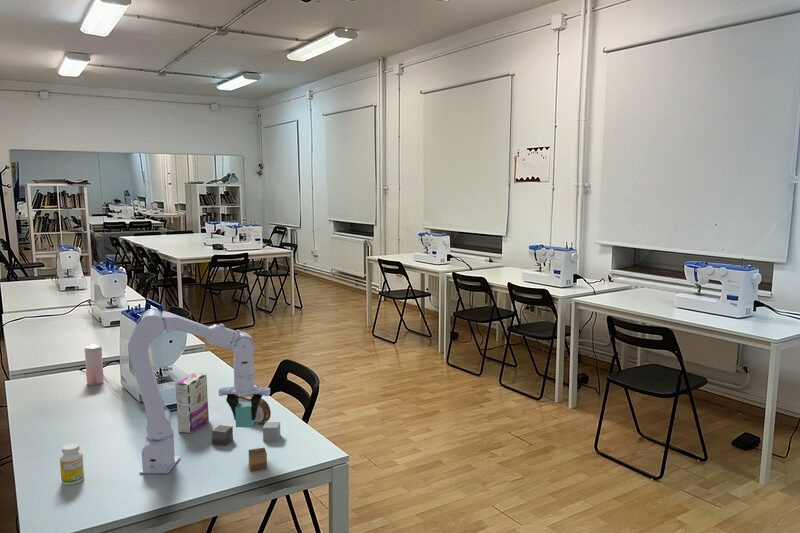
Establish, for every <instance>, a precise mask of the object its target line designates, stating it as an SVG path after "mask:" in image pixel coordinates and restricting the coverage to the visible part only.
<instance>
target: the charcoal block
mask: <svg viewBox="0 0 800 533" xmlns="http://www.w3.org/2000/svg"><path fill="white" fill-rule="evenodd" d="M233 429H234V427H233V426H232V425H224V424H219V425H218V426H216V427H214V428H213V429H212V430H211V444H213V446H221V447H226V446H227V445H229V444H230V443H231V442H233V441H234V430H233Z"/></svg>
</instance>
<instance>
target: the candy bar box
mask: <svg viewBox="0 0 800 533" xmlns="http://www.w3.org/2000/svg"><path fill="white" fill-rule="evenodd" d="M207 379H208V378H207V373H201V372H193V373H191V374H190V375H188V376H186V377H185V378H183V379H181V380H180V381H178V382H176V383H175V397H176V411H177V413H176V414H177V427H178V428H177V430H178V433H182V434H183V433H185V434H192V433H194V432H195V431H196V430H198V429H199V428H200V427H201V426H203V425H204V424H206V423H207V422H208V421H209V420H210V418H209V402H208V401H209V398H208V385H207V384H208V383H207V382H208V381H207Z"/></svg>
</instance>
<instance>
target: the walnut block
mask: <svg viewBox="0 0 800 533" xmlns="http://www.w3.org/2000/svg"><path fill="white" fill-rule="evenodd" d="M248 467H249V471H250V472H251V473H252V472H258V471H265V470H268V454H267V451H266V448H265V447H259V448H252V449H248Z"/></svg>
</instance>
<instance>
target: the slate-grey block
mask: <svg viewBox="0 0 800 533" xmlns="http://www.w3.org/2000/svg"><path fill="white" fill-rule="evenodd" d="M280 438H281V421H266V422H264V425H263V427H262V442H279V439H280Z"/></svg>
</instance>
